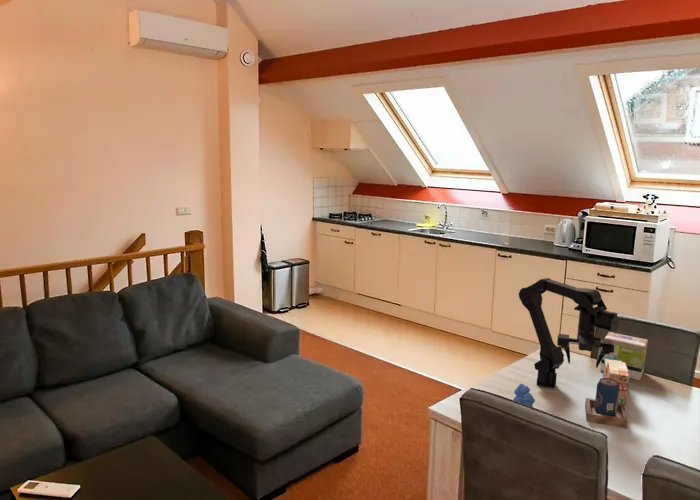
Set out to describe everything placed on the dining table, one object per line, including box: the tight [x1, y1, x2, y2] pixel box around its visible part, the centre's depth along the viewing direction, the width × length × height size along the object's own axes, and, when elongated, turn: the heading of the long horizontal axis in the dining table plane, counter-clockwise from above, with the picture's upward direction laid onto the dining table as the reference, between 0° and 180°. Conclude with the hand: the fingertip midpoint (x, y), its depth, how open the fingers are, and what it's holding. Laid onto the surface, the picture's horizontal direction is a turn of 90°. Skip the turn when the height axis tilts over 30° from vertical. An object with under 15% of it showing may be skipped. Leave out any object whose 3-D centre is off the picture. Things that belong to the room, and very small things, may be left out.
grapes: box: [513, 383, 536, 408], centre depth 185 cm, size 12×7×12 cm, turn 5°
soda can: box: [594, 377, 619, 417], centre depth 186 cm, size 7×7×12 cm
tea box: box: [600, 331, 649, 381], centre depth 222 cm, size 15×10×15 cm
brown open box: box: [584, 397, 629, 429], centre depth 187 cm, size 12×12×3 cm
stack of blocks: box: [602, 359, 630, 406], centre depth 204 cm, size 21×6×12 cm, turn 159°
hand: (582, 365), depth 198 cm, fingers open, 9 cm apart
